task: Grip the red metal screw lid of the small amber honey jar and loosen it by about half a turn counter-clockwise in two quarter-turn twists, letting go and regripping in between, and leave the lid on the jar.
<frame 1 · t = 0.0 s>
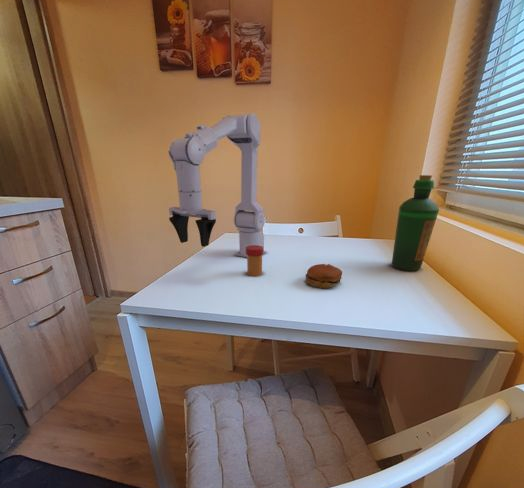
hand: (194, 243, 76), 10 cm above the table, tool pointing down, fingers open, 7 cm apart
bottle: (405, 267, 91), on the table
honey jar: (254, 273, 84), on the table
jar lid: (254, 248, 81), point 8 cm above the table, screwed on, not yet turned
burger: (322, 283, 78), on the table
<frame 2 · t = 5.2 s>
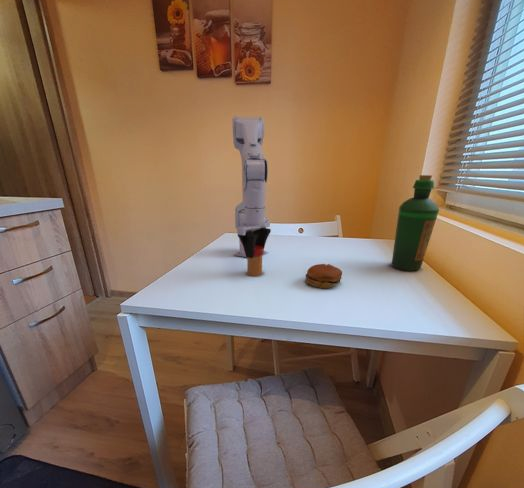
hand: (254, 255, 82), 6 cm above the table, tool pointing down, fingers closed on jar lid, 5 cm apart
jar lid: (254, 248, 81), point 8 cm above the table, screwed on, not yet turned, touching gripper
everything else where it was.
when the fingers open (2 cm above the table, at t = 8.3 s): jar lid stays where it is, point 8 cm above the table.
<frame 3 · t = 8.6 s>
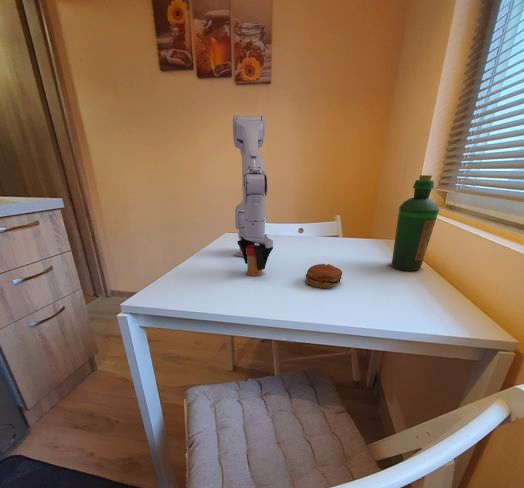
hand: (254, 266, 83), 2 cm above the table, tool pointing down, fingers open, 6 cm apart
jar lid: (254, 248, 81), point 8 cm above the table, turned 61° so far, risen 0.1 cm, still on its thread
everything else where it was.
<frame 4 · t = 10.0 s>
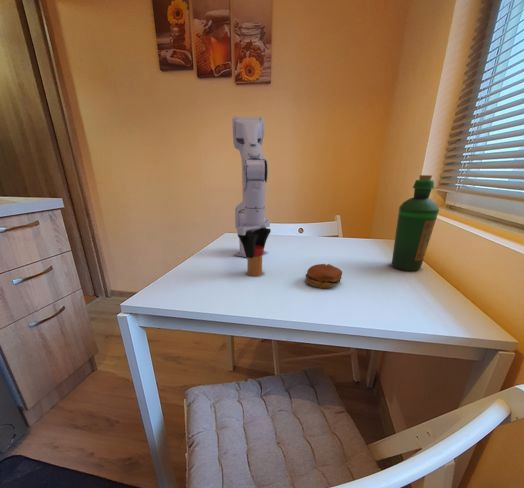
hand: (254, 255, 82), 6 cm above the table, tool pointing down, fingers closed on jar lid, 5 cm apart
jar lid: (254, 248, 81), point 8 cm above the table, turned 61° so far, risen 0.1 cm, still on its thread, touching gripper
everything else where it was.
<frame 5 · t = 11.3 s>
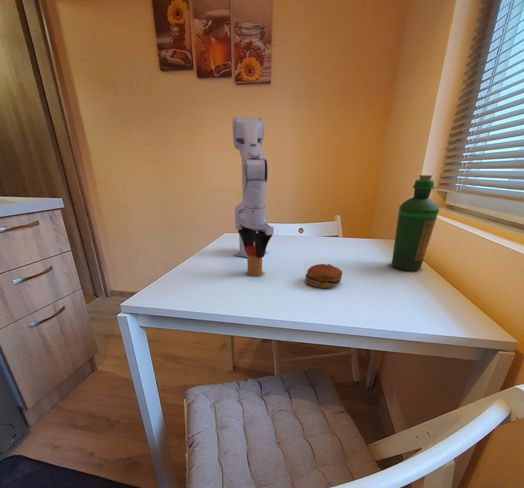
hand: (254, 255, 82), 6 cm above the table, tool pointing down, fingers closed on jar lid, 5 cm apart
jar lid: (254, 248, 81), point 8 cm above the table, turned 121° so far, risen 0.1 cm, still on its thread, touching gripper
everything else where it was.
when the fingers open (2 cm above the table, at t = 13.1 s): jar lid stays where it is, point 8 cm above the table.
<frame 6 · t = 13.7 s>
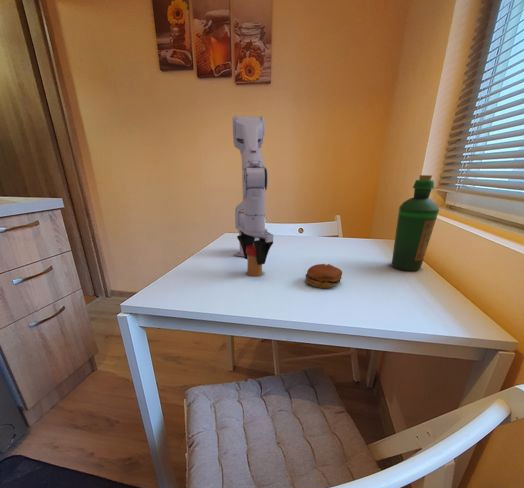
hand: (254, 261, 82), 4 cm above the table, tool pointing down, fingers open, 6 cm apart
jar lid: (254, 248, 81), point 8 cm above the table, turned 121° so far, risen 0.2 cm, still on its thread
everything else where it was.
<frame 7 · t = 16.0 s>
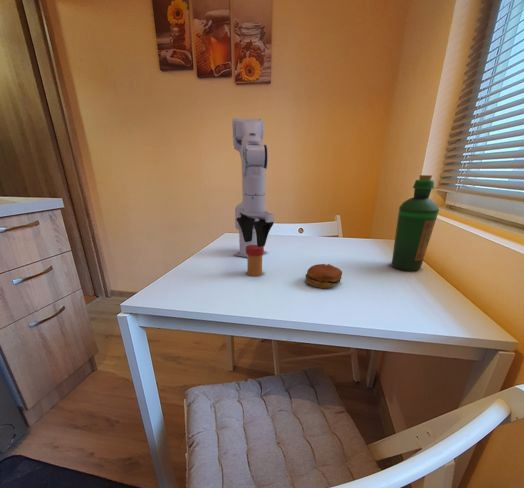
hand: (254, 243, 80), 9 cm above the table, tool pointing down, fingers open, 6 cm apart
nothing on the table moved.
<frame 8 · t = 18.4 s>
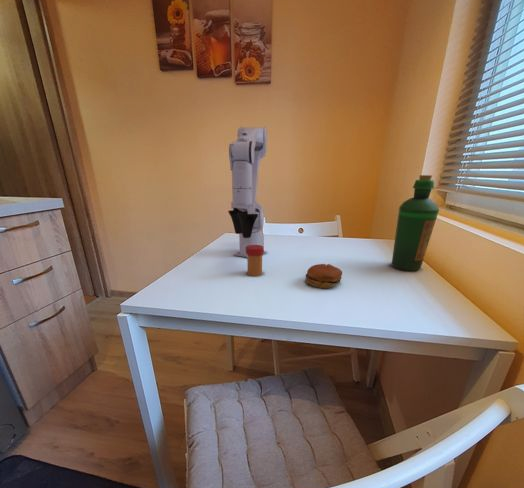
hand: (242, 235, 85), 10 cm above the table, tool pointing down, fingers open, 6 cm apart
nothing on the table moved.
at the end: jar lid turned 0.33 turns (still on its thread); jar lid is still on its thread (0.33 turns); jar lid tilted 0° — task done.
